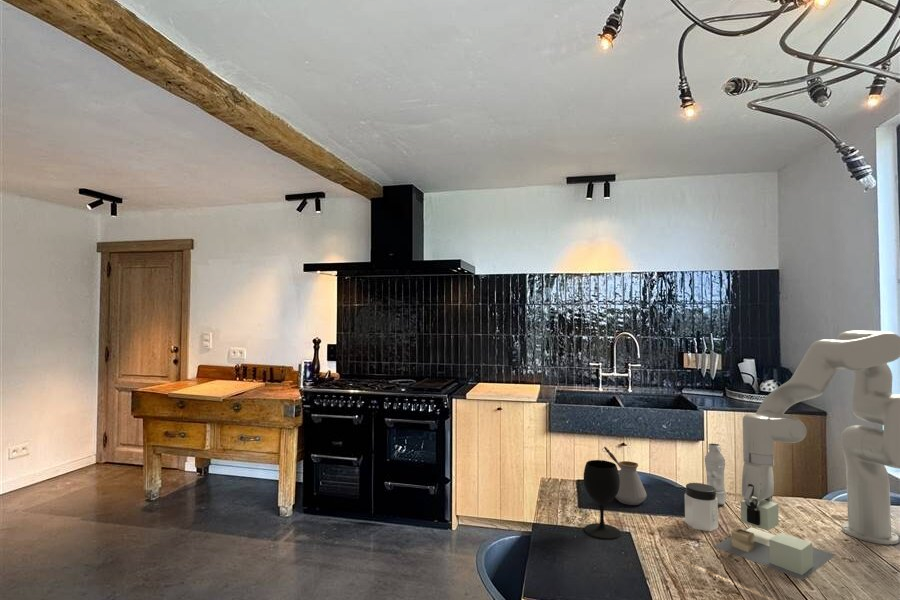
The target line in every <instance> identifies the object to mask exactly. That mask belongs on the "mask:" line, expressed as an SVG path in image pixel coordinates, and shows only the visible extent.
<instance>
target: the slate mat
mask: <svg viewBox="0 0 900 600" xmlns="http://www.w3.org/2000/svg"><path fill="white" fill-rule="evenodd" d="M744 530H746V531H749V532H752V533H754V549H752V550H750V551H749V552H746V551H743V550H740V549H738V548H735V547H732V535H731V536H729V537H727V538H726V539H723V540H722V541H720V542H718V543H716V544H715V545H713V547H714V548H718V549H720V550H722V551H725V552H728V553H730V554H734V555H736V556H738V557H742V559H743V558H744V559H746V560H748V561H751V562H754V563H757V564H759V565H762V566H764V567H767V568H770V569H772V570H775V571H777V572H781V573H782V574H786V575H788V576H791V577H793V578H796V579H798V580H801V581H804V580H805V579H807V578H808V577H809V576H811V575H812V574H813V573H815V572H816V571H817V570H818V569H819V568H821V567H822V566H824V565H825V564H826V563H827V562H829V560H831V559H832V558H834V557H835V556H836V555H837V554H835V553H832V552H829V551H826V550H823V549H820V548H817V547H813V546H812V547H813V567H812V568H811V569H810V570H808V571H807V572H806V573H804V574H803V575H800V574H798V573H795V572H792V571H790V570H787V569H784V568H782V567H779V566H776V565H774V564H771V563H770V546H769V539H771V538H772V537H774V536H776V535H777V534H774V533H771V532H768V531H766V530H763V529H760V528H757V527H754V526H748V527H747V528H745V529H744Z"/></svg>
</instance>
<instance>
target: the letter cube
mask: <svg viewBox="0 0 900 600" xmlns="http://www.w3.org/2000/svg"><path fill="white" fill-rule="evenodd" d="M730 534H731V536H732V547H735V548H738V549H740V550H743V551H746V552H749V551H750V550H752V549H754V533H752V532H749V531H746V530H745V529H743V528H739V527H737V528H736V529H733V530H731V533H730Z"/></svg>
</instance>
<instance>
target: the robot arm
mask: <svg viewBox="0 0 900 600" xmlns="http://www.w3.org/2000/svg"><path fill="white" fill-rule="evenodd" d="M898 359H900V335H898V334H897V333H894V332H892V331H886V330H885V331H884V330H848V331H843V332H841V333H839V334H838V335H837V336H836V339H819V340H816V341H814V342H813V343H811V345H810V346H809V348H808V349H807V351H806V352H805V353H804V356H803V357H802V359H801V361H800V363H799V365H798V366H797V368H796V369H795V371H794V373H793V374H792V375H791V378H790V379H788V380H787V381H785V382H784V383H783V384H780V386H778V387H777V388H775V389H774V390H773V391H771V392H770V393H769V394H767V396H765V397H764V399H763V401H762V402H761V404H760V405H759V406H758V409H757V410H756V412H755V413H751V414H750V413H749V414H745V415H743V417H742V460H743V467H742V475H741V496H742V497H743V500H745V503H746V508H747V522H749V523H752V524H755V525H760V511H758V509H759V503H760V501H762V500H767V501H771V502H773V496H774V494H775V492H774V491H775V483H774V481H775V480H774V469H773V467H775V450H774V449H775V447H774V445H775V444H774V442H781V443H788V444H796V443H800V442H802V441H803V440H804V439H805V438H806V437H807V434H808V433H807V432H808V430H807V427H806V425H805V424H804V423H803V422H802V420H800V419H798V418H796V417H793V416H790V415H786V414H785V413H786V411H788V409H790V408H791V407H792V406H793V405H795V404H798V403H800V402H803V401H808V400H812V399H815V398H818V397H821V396H822V395H823V394H825V392H826V390H827V388H828V387H829V385H830V383H831V382H832V380H833V378H834V376H835V374H836V373H837V371H838V370H842V371H843V370H845V371H853V373H854V374H853V375H854V379H853V389H852V397H851V404H850V405H851V408H850V409H851V412H852V414H853V416H854V417H856V418H857V419H859V420H860V421H865V422H867V423H871V424H874V425H875V424H877V425H879V426H883V429H881V428H876V427H871V426H867V425H861V424H855V425H850V426H847V427H846V428H845V429H843V431H842V432H841V435H840V446H841V449H842V450H841V451H842V453H843V456H844V462H845V471H846V497H847V522H844V523H842V524H841V530H842V531H843V532H844V533H846V534H847V535H849V536H850V537H853V538H856V539H858V540H862V541H865V542H869V543H873V544H877V545H878V544H879V545H889V544H891V545H896V544H898V543H899V542H900V536H899V535H897V534H896V533H895V532H893V531H892V514H891V512H892V511H891V492H890V491H891V490H890V489H891V488H890V477H889V474H888V473H889V472H888V470H887V468H886V467H890V468H894V469H898V470H899V469H900V394H898V393H893V373H892V371H891V368H890V366H889V363H891V362H895V361H896V360H898ZM752 496H753V497H756V498H757V499H755V498H751V497H752ZM752 501H756V503H755V504H754V503H753V502H752Z"/></svg>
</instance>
